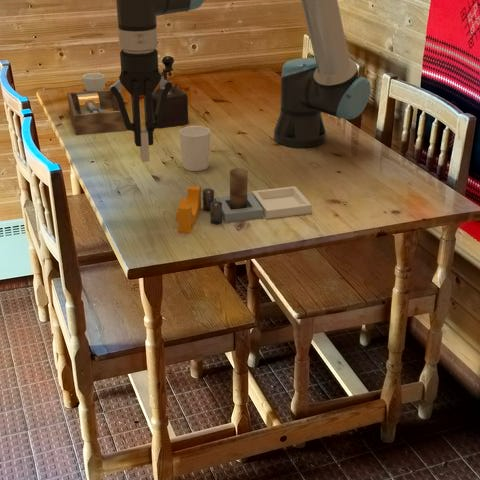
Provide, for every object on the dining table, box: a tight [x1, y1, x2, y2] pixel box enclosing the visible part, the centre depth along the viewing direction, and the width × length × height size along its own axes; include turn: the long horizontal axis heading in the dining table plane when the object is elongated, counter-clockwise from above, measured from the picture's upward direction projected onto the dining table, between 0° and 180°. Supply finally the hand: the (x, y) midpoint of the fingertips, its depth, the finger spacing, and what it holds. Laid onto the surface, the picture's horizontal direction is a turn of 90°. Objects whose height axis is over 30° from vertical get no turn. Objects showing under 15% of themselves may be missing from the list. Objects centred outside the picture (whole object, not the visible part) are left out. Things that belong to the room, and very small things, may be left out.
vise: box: [76, 92, 106, 114], centre depth 224 cm, size 18×10×7 cm, turn 21°
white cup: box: [179, 125, 211, 172], centre depth 191 cm, size 8×8×10 cm
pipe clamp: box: [175, 185, 202, 234], centre depth 164 cm, size 12×4×6 cm, turn 171°
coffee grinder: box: [152, 55, 190, 129], centre depth 223 cm, size 16×11×18 cm
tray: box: [251, 185, 313, 220], centre depth 171 cm, size 11×11×3 cm
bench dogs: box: [202, 188, 223, 225], centre depth 166 cm, size 3×10×5 cm, turn 16°
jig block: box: [214, 193, 264, 224], centre depth 168 cm, size 9×9×2 cm
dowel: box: [229, 167, 249, 210], centre depth 166 cm, size 4×4×10 cm
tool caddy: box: [66, 88, 128, 136], centre depth 224 cm, size 15×23×6 cm, turn 17°
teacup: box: [82, 72, 106, 91], centre depth 252 cm, size 10×8×5 cm
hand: (144, 159), depth 156 cm, fingers closed
